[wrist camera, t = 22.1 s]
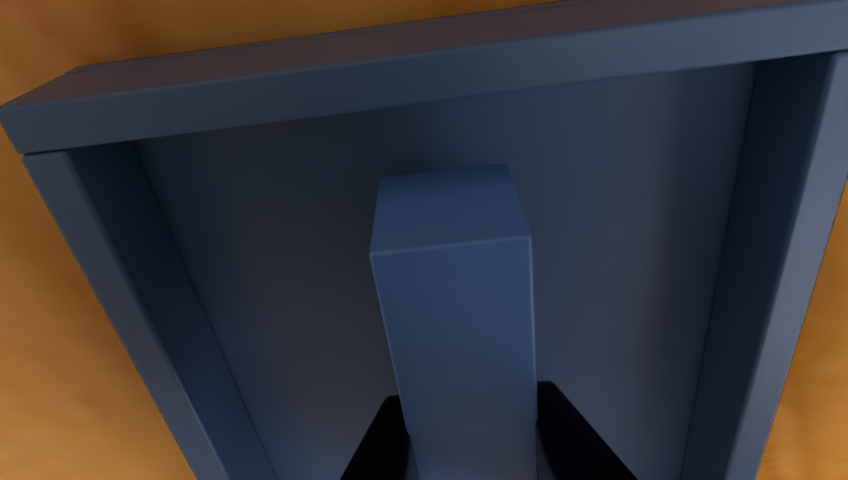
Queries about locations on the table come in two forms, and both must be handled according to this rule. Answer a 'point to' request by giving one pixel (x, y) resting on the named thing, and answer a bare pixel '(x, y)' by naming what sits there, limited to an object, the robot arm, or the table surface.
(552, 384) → the robot arm
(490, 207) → the blue spoon
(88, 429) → the table surface
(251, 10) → the table surface
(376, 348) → the blue tray
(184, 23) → the table surface
